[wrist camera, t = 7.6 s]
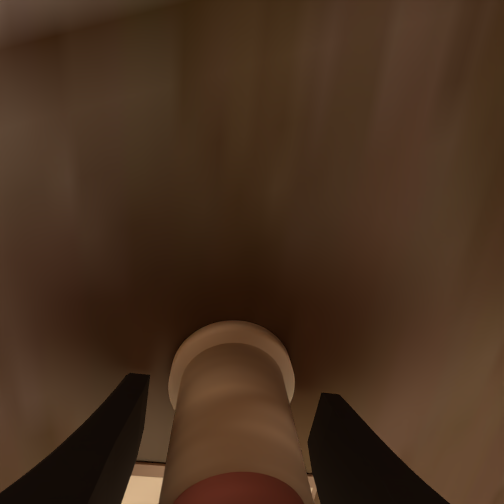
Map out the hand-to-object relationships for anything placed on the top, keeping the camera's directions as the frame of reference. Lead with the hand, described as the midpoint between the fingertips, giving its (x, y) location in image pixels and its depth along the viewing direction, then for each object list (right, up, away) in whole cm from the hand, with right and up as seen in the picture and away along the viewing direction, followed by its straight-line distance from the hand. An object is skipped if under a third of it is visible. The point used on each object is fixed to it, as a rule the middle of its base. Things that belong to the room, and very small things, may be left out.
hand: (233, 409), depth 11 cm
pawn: (0, +1, +2) cm, 2 cm away
